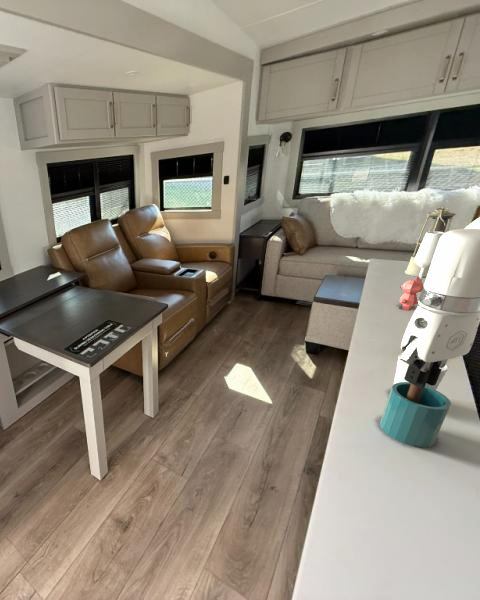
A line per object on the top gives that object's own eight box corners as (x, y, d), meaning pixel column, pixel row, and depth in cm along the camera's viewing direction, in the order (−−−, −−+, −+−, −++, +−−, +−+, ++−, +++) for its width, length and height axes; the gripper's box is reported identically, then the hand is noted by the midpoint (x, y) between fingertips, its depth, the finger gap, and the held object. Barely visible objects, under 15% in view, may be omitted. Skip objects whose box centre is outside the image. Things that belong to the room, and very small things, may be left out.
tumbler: (418, 424, 71) (434, 384, 67) (442, 454, 64) (462, 412, 60) (372, 417, 74) (384, 379, 70) (390, 445, 67) (404, 405, 63)
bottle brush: (408, 421, 69) (433, 355, 62) (416, 432, 66) (443, 364, 60) (389, 418, 70) (412, 353, 64) (396, 429, 67) (421, 362, 61)
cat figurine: (397, 302, 123) (406, 273, 118) (422, 307, 118) (432, 277, 113) (392, 308, 119) (401, 278, 115) (417, 313, 114) (428, 282, 109)
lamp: (437, 272, 144) (460, 205, 133) (435, 280, 137) (460, 210, 125) (405, 269, 152) (425, 205, 140) (402, 276, 144) (422, 209, 133)
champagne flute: (413, 293, 128) (432, 235, 119) (400, 287, 134) (417, 231, 125) (433, 292, 127) (453, 233, 118) (419, 286, 133) (437, 230, 124)
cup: (379, 399, 79) (392, 359, 75) (394, 387, 82) (408, 348, 78) (422, 418, 73) (439, 376, 68) (437, 405, 76) (455, 363, 71)
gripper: (438, 315, 52) (406, 402, 59) (516, 299, 54) (476, 386, 61) (390, 299, 59) (366, 379, 66) (460, 285, 61) (430, 365, 68)
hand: (419, 382), depth 64 cm, fingers closed on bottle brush
